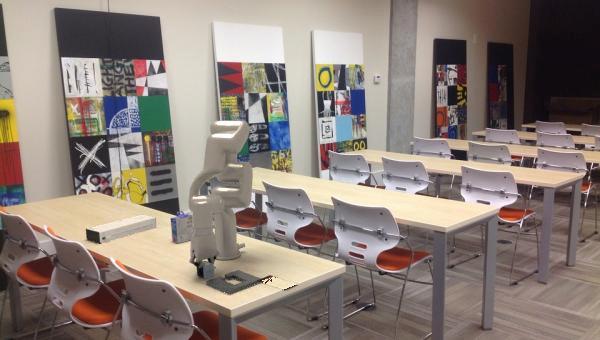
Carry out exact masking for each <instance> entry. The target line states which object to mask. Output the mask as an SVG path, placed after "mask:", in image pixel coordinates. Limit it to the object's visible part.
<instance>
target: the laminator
mask: <svg viewBox="0 0 600 340" xmlns="http://www.w3.org/2000/svg"><path fill="white" fill-rule="evenodd" d="M156 228H157V218H156V216H153V215H152V216H151V215H148V214H147V215H146V214H139V215H134V216H131V217H128V218H123V219H119V220H115V221H112V222H111V221H110V222H109V223H108V222H107V223H104V224H100V225H96V226H95V225H94V226H93V227H88V228H85V237H86V240H88V241H92V242H94V243H98V244H104V242H105V243H108V242H111V240H112V241H114V240H119V239H122V238H126V237H129V236H133V235H136V234H138V233H139V232H140V233H142V232H146V231H150V230H153V229H156ZM135 233H136V234H135ZM132 234H133V235H132ZM128 235H129V236H128ZM125 236H126V237H125ZM118 238H119V239H118ZM107 241H108V242H107Z"/></svg>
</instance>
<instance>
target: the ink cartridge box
mask: <svg viewBox="0 0 600 340" xmlns="http://www.w3.org/2000/svg"><path fill="white" fill-rule="evenodd" d="M176 215H177V216H173V217H170V228H171V238H172V239H171V240H172V243H175V244H180V243H185V242H188V241H191V238H192V235H194V229H193V214H188V213H184V211H183V210H180V211H176Z"/></svg>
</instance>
